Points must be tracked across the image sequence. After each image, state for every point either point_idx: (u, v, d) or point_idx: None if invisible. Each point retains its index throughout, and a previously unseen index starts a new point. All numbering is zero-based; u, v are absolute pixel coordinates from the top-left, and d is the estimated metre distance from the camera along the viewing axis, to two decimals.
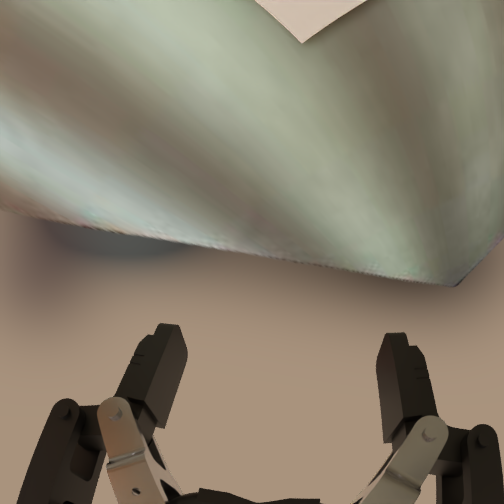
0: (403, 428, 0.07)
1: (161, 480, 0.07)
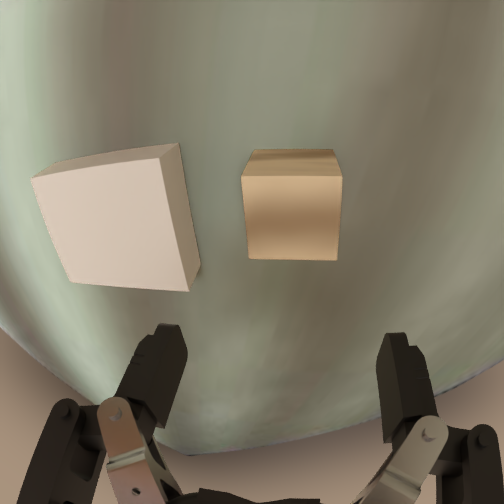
0: (403, 428, 0.07)
1: (161, 480, 0.07)
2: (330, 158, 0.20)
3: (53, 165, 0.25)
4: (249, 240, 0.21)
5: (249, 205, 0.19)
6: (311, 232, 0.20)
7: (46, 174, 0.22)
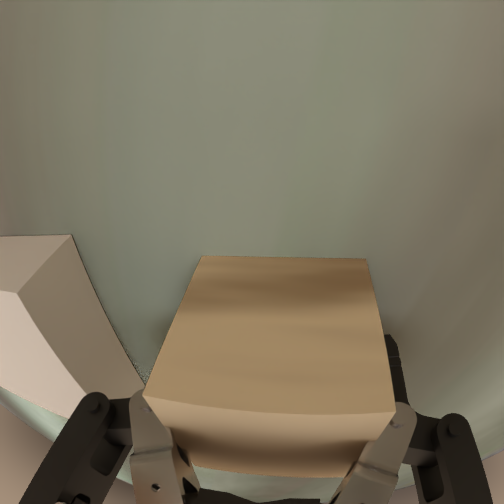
0: None
1: (183, 478, 0.07)
2: (365, 306, 0.09)
3: None
4: (190, 455, 0.09)
5: (175, 429, 0.08)
6: (306, 462, 0.08)
7: None
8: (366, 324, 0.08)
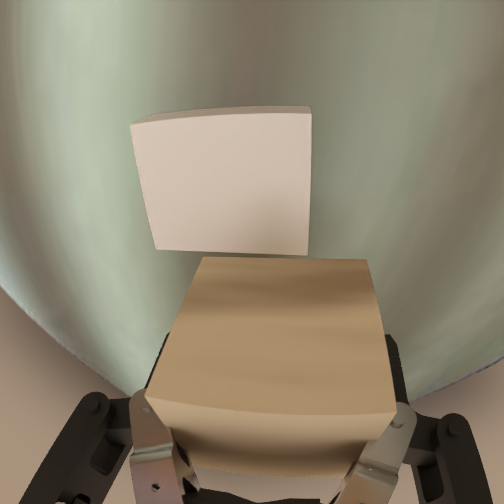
0: None
1: (183, 478, 0.07)
2: (365, 308, 0.09)
3: (152, 116, 0.24)
4: (191, 455, 0.09)
5: (177, 430, 0.08)
6: (307, 462, 0.08)
7: (155, 120, 0.22)
8: (367, 325, 0.08)
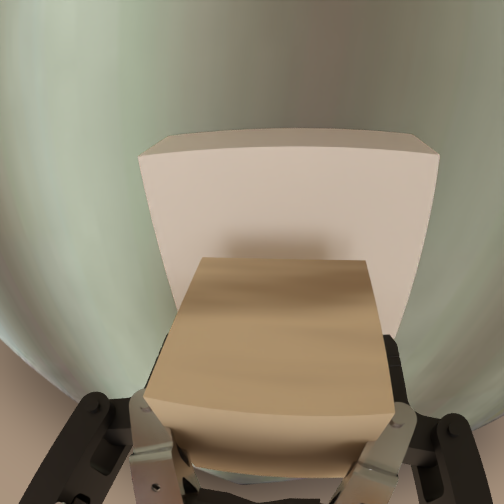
0: None
1: (183, 478, 0.07)
2: (364, 308, 0.09)
3: (172, 139, 0.16)
4: (190, 456, 0.09)
5: (176, 430, 0.08)
6: (306, 463, 0.08)
7: (181, 150, 0.14)
8: (366, 326, 0.08)
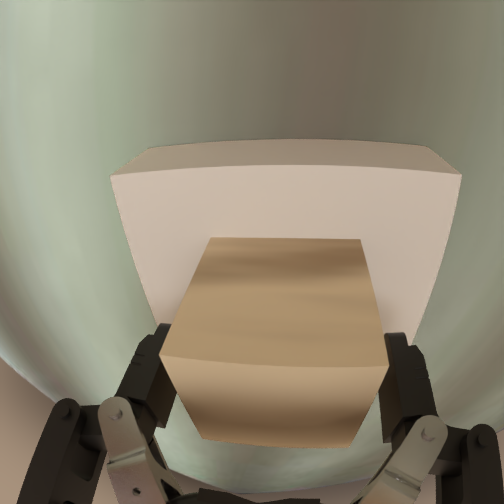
0: (402, 428, 0.07)
1: (161, 480, 0.07)
2: (359, 279, 0.10)
3: (152, 152, 0.14)
4: (198, 425, 0.10)
5: (187, 393, 0.09)
6: (308, 428, 0.09)
7: (158, 169, 0.12)
8: (360, 293, 0.09)
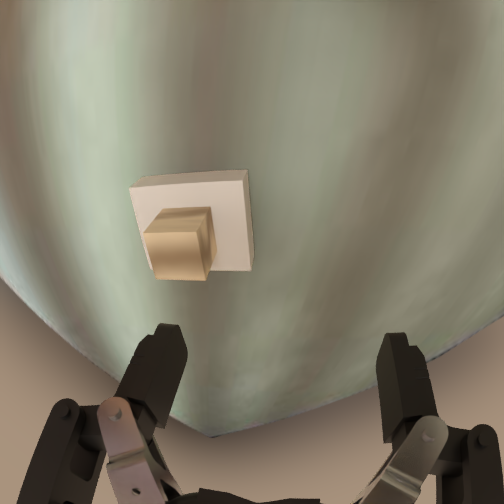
0: (403, 428, 0.07)
1: (161, 480, 0.07)
2: (201, 216, 0.33)
3: (143, 179, 0.38)
4: (153, 268, 0.34)
5: (150, 248, 0.32)
6: (186, 263, 0.33)
7: (145, 185, 0.35)
8: (199, 219, 0.33)
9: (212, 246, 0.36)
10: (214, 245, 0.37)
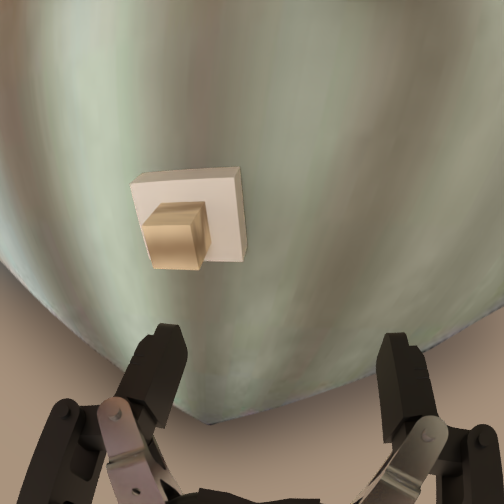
0: (403, 428, 0.07)
1: (161, 480, 0.07)
2: (195, 210, 0.36)
3: (143, 175, 0.40)
4: (151, 258, 0.36)
5: (148, 240, 0.35)
6: (181, 254, 0.35)
7: (144, 181, 0.38)
8: (193, 213, 0.35)
9: (206, 238, 0.39)
10: (208, 237, 0.40)
